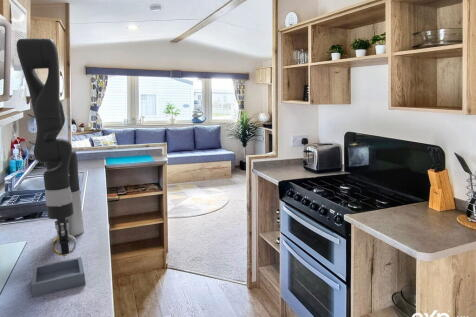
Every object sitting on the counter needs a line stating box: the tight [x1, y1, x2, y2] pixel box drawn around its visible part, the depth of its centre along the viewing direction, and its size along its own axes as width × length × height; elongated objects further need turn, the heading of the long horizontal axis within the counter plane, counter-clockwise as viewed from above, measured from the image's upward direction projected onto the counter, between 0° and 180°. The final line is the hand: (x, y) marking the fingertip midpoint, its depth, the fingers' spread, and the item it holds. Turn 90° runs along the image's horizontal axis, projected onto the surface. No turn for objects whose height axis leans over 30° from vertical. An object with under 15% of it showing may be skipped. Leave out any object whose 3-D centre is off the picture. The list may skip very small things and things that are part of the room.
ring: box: [51, 234, 77, 257], centre depth 115 cm, size 7×3×8 cm, turn 112°
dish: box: [30, 256, 86, 298], centre depth 102 cm, size 12×13×4 cm
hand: (65, 252), depth 116 cm, fingers closed on ring, 1 cm apart
